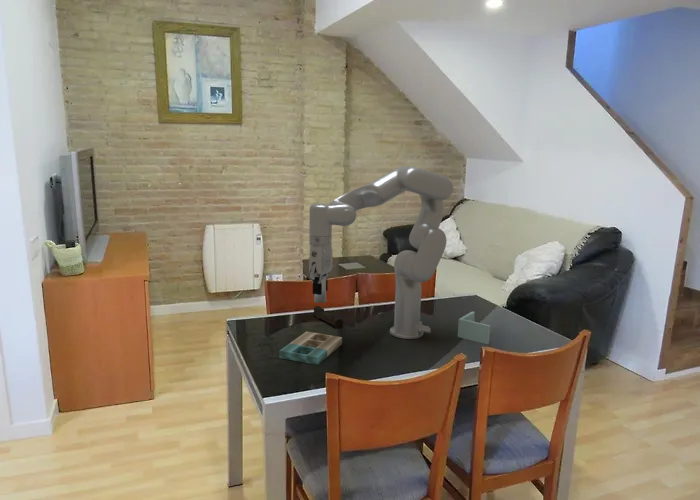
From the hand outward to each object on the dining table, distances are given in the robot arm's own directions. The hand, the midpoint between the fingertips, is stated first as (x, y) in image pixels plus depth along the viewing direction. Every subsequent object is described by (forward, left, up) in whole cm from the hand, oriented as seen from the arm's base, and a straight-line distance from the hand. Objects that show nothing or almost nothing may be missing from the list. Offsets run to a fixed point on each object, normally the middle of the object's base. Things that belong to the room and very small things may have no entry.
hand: (320, 291), depth 182 cm
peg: (0, 0, -3) cm, 3 cm away
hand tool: (+8, -23, -20) cm, 32 cm away
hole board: (0, +6, -19) cm, 20 cm away
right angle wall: (-51, -32, -20) cm, 63 cm away
